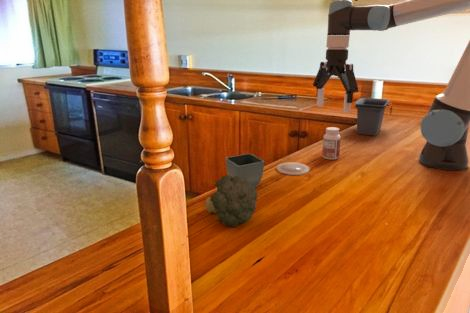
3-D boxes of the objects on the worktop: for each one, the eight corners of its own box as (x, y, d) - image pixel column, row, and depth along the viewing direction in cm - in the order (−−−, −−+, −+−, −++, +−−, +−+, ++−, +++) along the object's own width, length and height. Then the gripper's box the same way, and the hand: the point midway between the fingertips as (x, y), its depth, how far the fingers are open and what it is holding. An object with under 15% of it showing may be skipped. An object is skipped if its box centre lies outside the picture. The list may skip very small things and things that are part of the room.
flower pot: (238, 195, 107) (238, 166, 104) (225, 185, 114) (224, 157, 111) (264, 189, 110) (265, 161, 108) (250, 180, 118) (250, 153, 115)
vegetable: (231, 192, 103) (271, 181, 93) (223, 237, 97) (265, 231, 87) (197, 175, 97) (236, 161, 86) (186, 222, 91) (227, 213, 80)
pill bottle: (332, 154, 143) (335, 125, 139) (342, 158, 137) (345, 129, 134) (318, 156, 141) (320, 127, 137) (328, 160, 135) (330, 131, 132)
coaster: (316, 171, 125) (316, 169, 124) (288, 177, 120) (288, 175, 120) (296, 162, 134) (296, 160, 134) (270, 167, 129) (270, 165, 129)
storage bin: (358, 125, 188) (361, 96, 183) (391, 128, 181) (395, 98, 177) (350, 135, 170) (352, 103, 165) (386, 138, 163) (390, 106, 159)
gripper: (373, 49, 121) (366, 113, 128) (320, 47, 142) (317, 102, 149) (357, 49, 118) (351, 116, 124) (305, 47, 138) (302, 104, 145)
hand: (332, 109), depth 137 cm, fingers open, 13 cm apart
